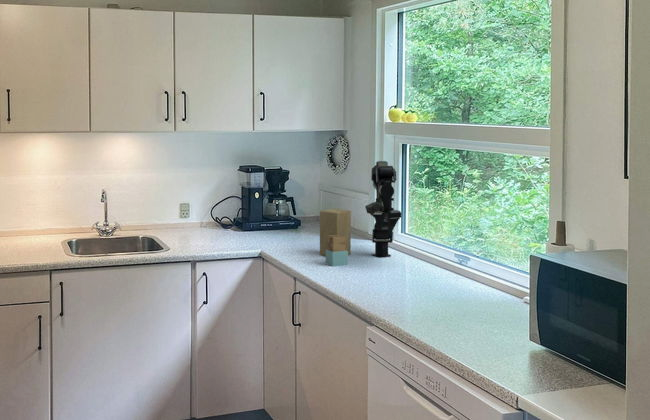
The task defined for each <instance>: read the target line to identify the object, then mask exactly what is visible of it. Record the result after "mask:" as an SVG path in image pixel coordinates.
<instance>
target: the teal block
mask: <svg viewBox="0 0 650 420" xmlns="http://www.w3.org/2000/svg"><path fill="white" fill-rule="evenodd" d="M348 263H349V255H348V251H346V250H345V251H339V252H332V251H330V250H328V249H327V250H326V256H325V264H326V265H327V266H331V267H339V266H340V267H342V266H348V265H349V264H348Z"/></svg>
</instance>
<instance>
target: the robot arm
mask: <svg viewBox="0 0 650 420" xmlns="http://www.w3.org/2000/svg"><path fill="white" fill-rule="evenodd" d="M375 162H376V163H375V165H374V166H373V167H371V176H370V180H371V182H372V187H373V188H374V189H375V191H376V192H375V193H376V198H375V201H374V202H371V203H368V204H367V205H365V210H366V211H365V212H366V213H367V214H369V215H370V216H372V217H373V218H374V220H375V223H374V225H373V228H372V231H371V232H372V233H371V242H372V244H374V245H375V246H374V253H371V256H374V257H376V258H385V257H392V255H391V254H389V243H391V244H392V243H393V239H394V232H393V230H394V229H395V227H396V225H397V224H398V222H399V220H400V218H402V217H403V216H402V215H403V214H402V211H400V210H397V209H394V207H393V205H392V204H393V202H394V201H395V198H393V196H394V194H395V189H394V187H393V183H394V184H395V183H396V181H397V170H396V168H394V166H393V165H389V163H388V161H386V160H383V161H382V160H381V161H380V160H378V161H375Z"/></svg>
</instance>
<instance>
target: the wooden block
mask: <svg viewBox="0 0 650 420" xmlns="http://www.w3.org/2000/svg"><path fill="white" fill-rule="evenodd" d="M351 213H352V211H351V210H349V209H339V208H330V209H323V210H322V209H321V210H320V211H319V256H322V257H324V256H325V257H326V250H327V249H328V236H331V235H342V236H345V250H346V251H348V256H350V255H351V250H352V249H351V246H352V245H351V241H352V240H351V237H352V236H351V235H352V234H351V233H352V232H351V231H352V229H351V228H352V227H351V226H352V225H351V222H352V221H351V219H352V217H351V215H352V214H351Z"/></svg>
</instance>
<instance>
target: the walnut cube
mask: <svg viewBox="0 0 650 420" xmlns="http://www.w3.org/2000/svg"><path fill="white" fill-rule="evenodd" d="M328 250H330V251H332V252H339V251H345V236H342V235H331V236H328Z"/></svg>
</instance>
